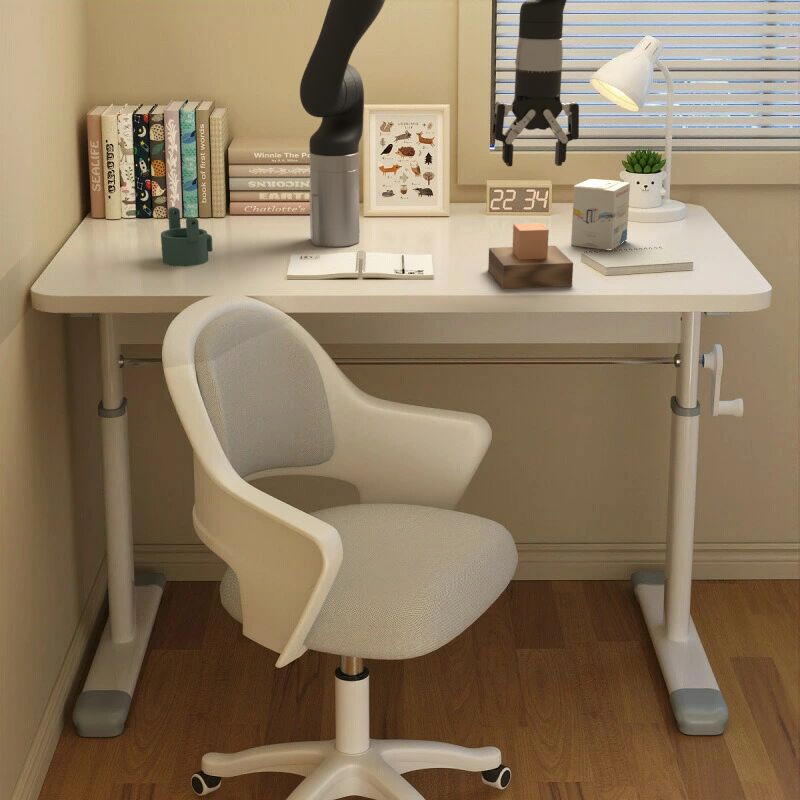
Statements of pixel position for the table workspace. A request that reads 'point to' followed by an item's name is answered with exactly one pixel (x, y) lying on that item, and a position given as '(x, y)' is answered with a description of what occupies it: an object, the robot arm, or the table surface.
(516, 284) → the walnut base
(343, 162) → the robot arm
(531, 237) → the terracotta cube
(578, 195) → the ink box
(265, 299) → the table surface
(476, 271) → the table surface
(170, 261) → the bracket
